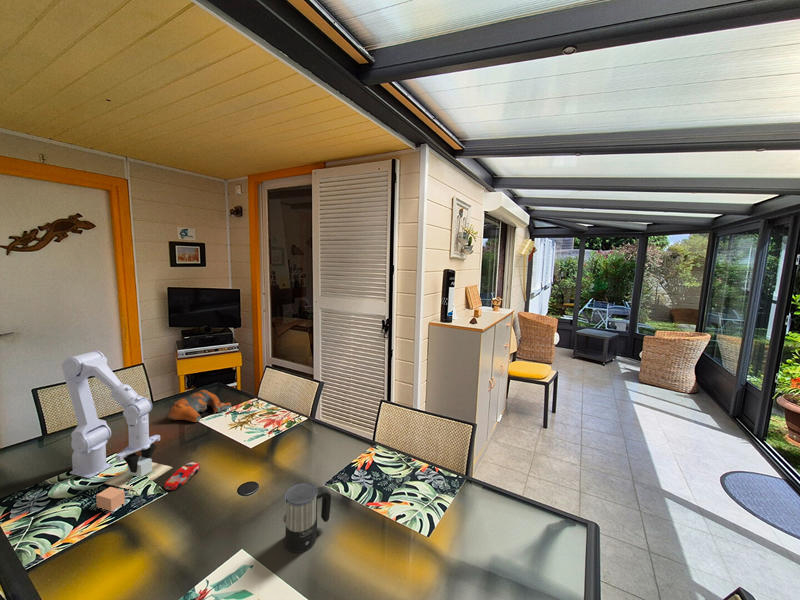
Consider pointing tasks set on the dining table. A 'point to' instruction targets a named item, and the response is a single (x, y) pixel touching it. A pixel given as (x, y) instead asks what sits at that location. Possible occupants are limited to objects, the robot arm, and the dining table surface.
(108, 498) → the terracotta block
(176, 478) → the race car
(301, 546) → the milk frother
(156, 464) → the plate
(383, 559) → the dining table surface
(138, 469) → the light grey block
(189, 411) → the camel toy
